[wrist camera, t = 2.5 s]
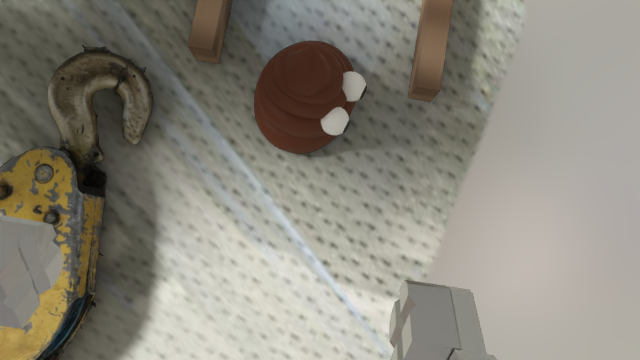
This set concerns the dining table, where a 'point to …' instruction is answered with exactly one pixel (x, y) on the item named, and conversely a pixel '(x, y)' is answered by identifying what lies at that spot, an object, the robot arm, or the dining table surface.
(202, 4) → the channel
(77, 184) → the pulley block
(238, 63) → the dining table surface
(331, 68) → the poop emoji
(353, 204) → the dining table surface
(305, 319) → the dining table surface
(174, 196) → the dining table surface
